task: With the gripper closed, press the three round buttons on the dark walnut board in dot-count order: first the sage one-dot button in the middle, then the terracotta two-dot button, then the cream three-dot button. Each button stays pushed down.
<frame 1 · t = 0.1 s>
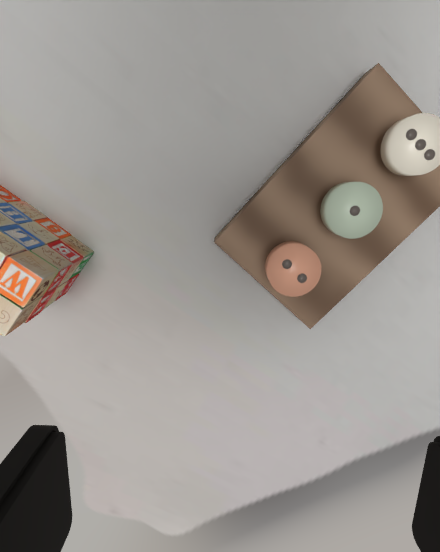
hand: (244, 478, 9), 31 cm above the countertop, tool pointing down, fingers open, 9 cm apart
cream button: (414, 145, 31), point 6 cm above the countertop, slide at 0.0 cm
terracotta button: (292, 268, 34), point 6 cm above the countertop, slide at 0.0 cm
button board: (332, 206, 38), on the countertop
sage button: (350, 210, 32), point 6 cm above the countertop, slide at 0.0 cm
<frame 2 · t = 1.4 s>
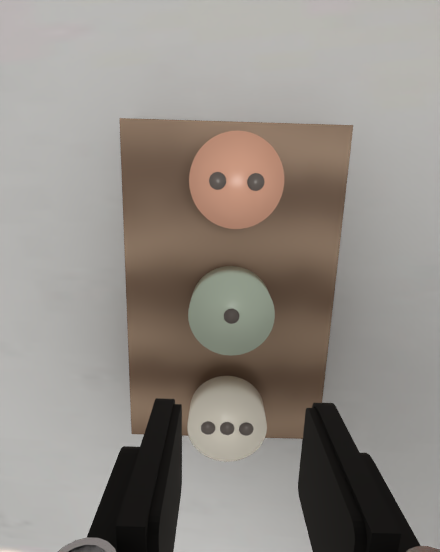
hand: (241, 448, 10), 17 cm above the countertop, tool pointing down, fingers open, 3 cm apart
cream button: (226, 418, 23), point 6 cm above the countertop, slide at 0.0 cm
terracotta button: (235, 181, 19), point 6 cm above the countertop, slide at 0.0 cm
button board: (229, 284, 27), on the countertop
sage button: (231, 310, 21), point 6 cm above the countertop, slide at 0.0 cm
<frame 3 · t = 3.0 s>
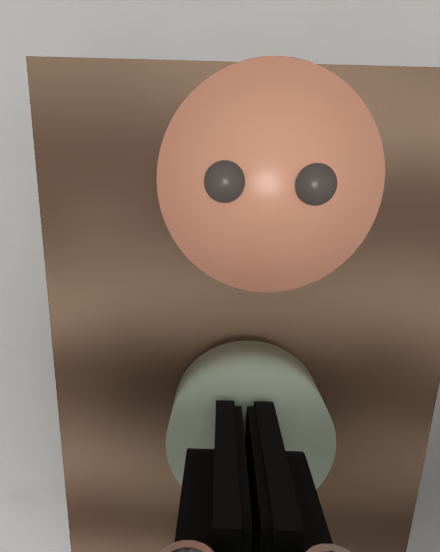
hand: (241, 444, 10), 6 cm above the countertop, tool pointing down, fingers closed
terracotta button: (265, 183, 9), point 6 cm above the countertop, slide at 0.0 cm
button board: (241, 357, 16), on the countertop
sage button: (248, 426, 11), point 5 cm above the countertop, slide at 0.9 cm, touching gripper
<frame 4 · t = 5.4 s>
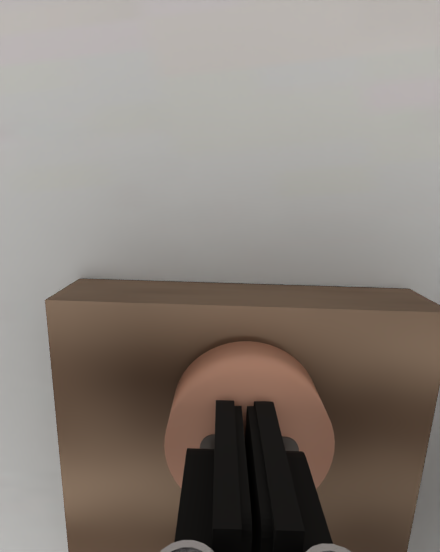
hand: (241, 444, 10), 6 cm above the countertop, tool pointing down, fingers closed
terracotta button: (247, 427, 11), point 5 cm above the countertop, slide at 1.0 cm, touching gripper
button board: (234, 496, 18), on the countertop
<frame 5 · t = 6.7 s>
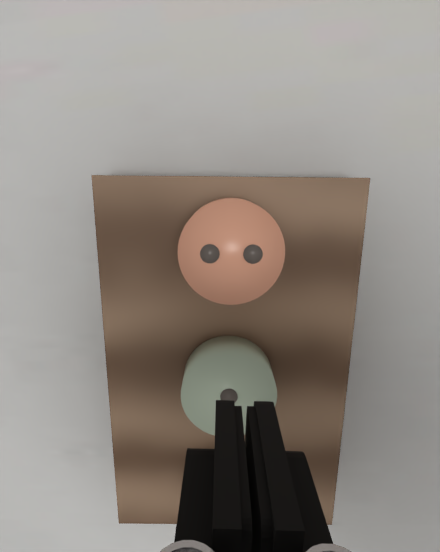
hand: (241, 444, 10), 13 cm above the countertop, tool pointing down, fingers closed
terracotta button: (230, 250, 17), point 4 cm above the countertop, slide at 1.3 cm
button board: (226, 350, 23), on the countertop
sage button: (228, 386, 19), point 4 cm above the countertop, slide at 1.3 cm
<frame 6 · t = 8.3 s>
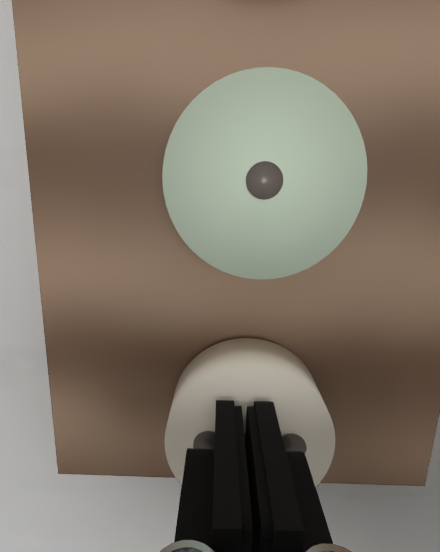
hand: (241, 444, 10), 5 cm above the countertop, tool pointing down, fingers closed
cream button: (247, 424, 11), point 4 cm above the countertop, slide at 1.2 cm, touching gripper
button board: (249, 183, 14), on the countertop
sage button: (260, 181, 10), point 4 cm above the countertop, slide at 1.3 cm
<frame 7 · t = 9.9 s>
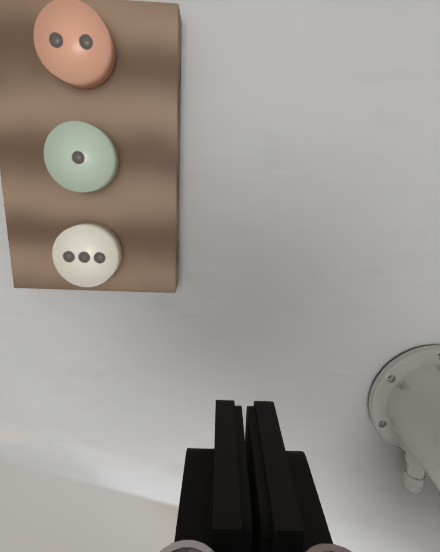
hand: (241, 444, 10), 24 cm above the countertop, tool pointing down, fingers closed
cream button: (88, 254, 29), point 4 cm above the countertop, slide at 1.3 cm
terracotta button: (76, 46, 25), point 4 cm above the countertop, slide at 1.3 cm
button board: (99, 160, 31), on the countertop
sage button: (82, 158, 27), point 4 cm above the countertop, slide at 1.3 cm
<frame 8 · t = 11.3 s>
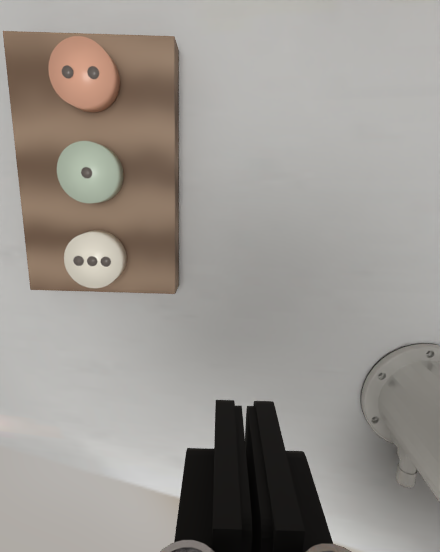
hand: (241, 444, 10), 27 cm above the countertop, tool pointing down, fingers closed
cream button: (96, 259, 32), point 4 cm above the countertop, slide at 1.3 cm
terracotta button: (85, 76, 28), point 4 cm above the countertop, slide at 1.3 cm
button board: (106, 174, 34), on the countertop
sage button: (91, 173, 30), point 4 cm above the countertop, slide at 1.3 cm
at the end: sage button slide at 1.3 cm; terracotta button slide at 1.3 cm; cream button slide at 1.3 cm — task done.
